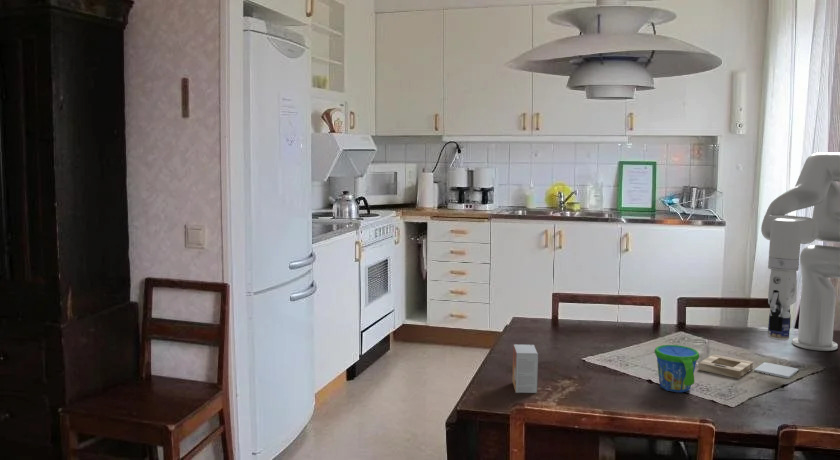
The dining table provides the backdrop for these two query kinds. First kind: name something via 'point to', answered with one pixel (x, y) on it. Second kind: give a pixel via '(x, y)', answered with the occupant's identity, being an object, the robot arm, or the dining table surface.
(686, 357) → the snack cup
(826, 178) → the robot arm
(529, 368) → the small box
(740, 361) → the socket plate
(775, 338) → the pill bottle
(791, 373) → the coaster
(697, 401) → the dining table surface
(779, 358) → the dining table surface
